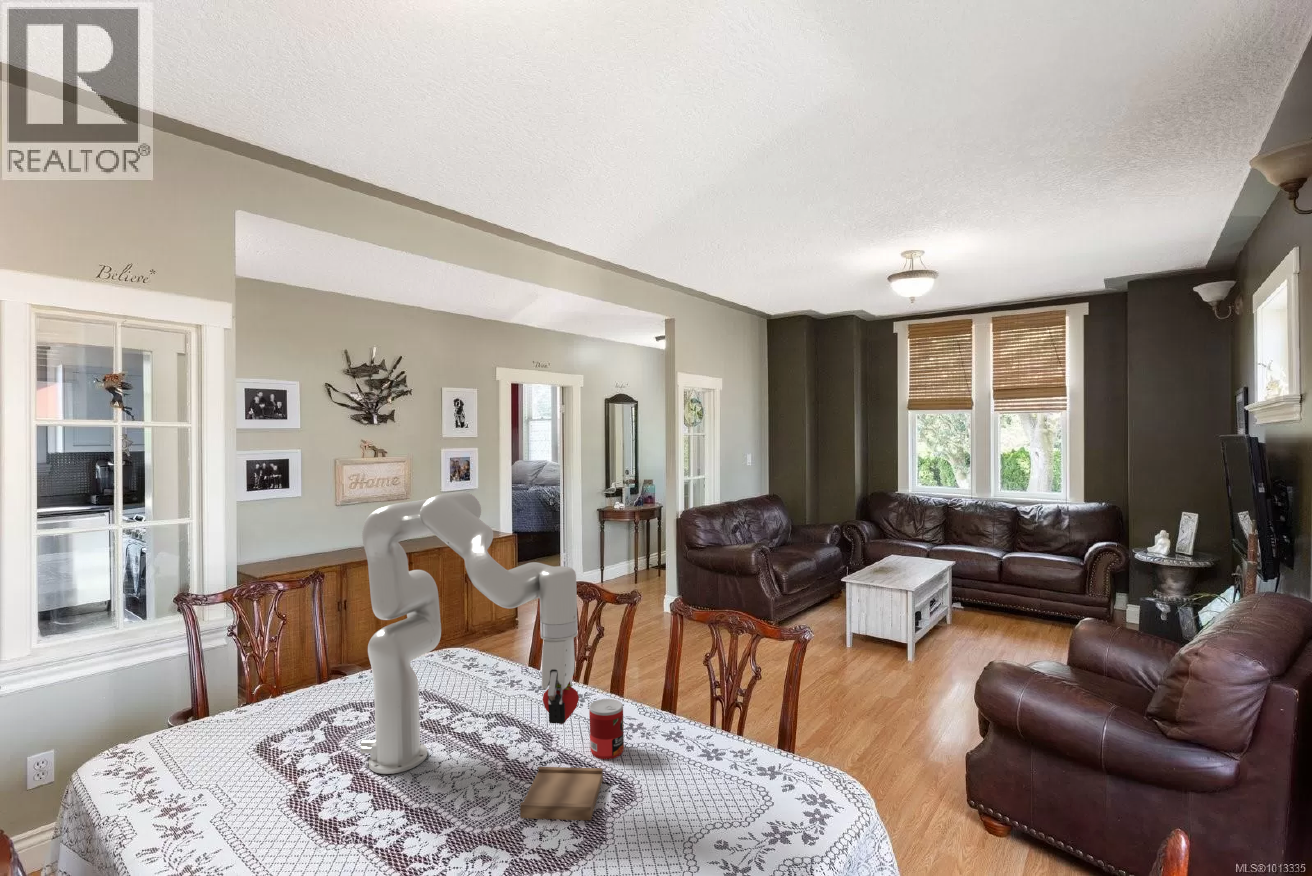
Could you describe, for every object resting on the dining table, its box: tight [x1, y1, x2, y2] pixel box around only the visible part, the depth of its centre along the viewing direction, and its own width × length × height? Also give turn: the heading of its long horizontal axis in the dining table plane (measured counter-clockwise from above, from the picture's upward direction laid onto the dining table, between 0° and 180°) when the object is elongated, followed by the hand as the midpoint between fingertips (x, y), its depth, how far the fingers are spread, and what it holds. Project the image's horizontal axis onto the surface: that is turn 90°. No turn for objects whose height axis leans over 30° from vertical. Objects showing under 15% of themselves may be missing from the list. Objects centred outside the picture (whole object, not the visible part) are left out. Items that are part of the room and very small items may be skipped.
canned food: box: [588, 698, 625, 760], centre depth 149 cm, size 8×8×11 cm
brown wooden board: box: [519, 766, 604, 821], centre depth 131 cm, size 14×14×3 cm
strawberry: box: [542, 684, 580, 725], centre depth 130 cm, size 6×8×10 cm
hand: (561, 714), depth 131 cm, fingers closed on strawberry, 5 cm apart
